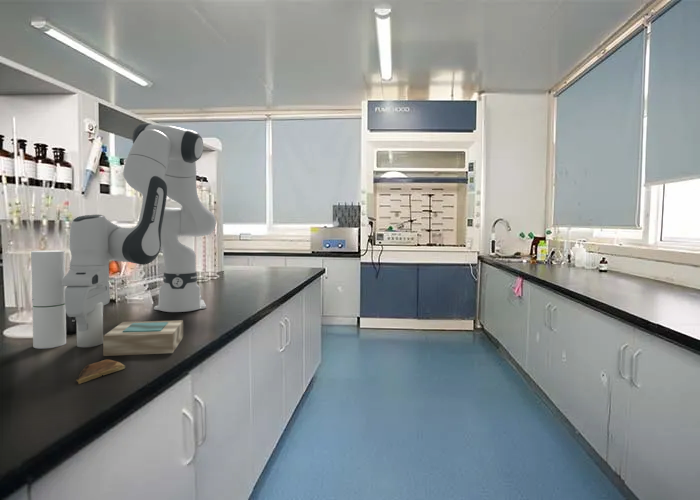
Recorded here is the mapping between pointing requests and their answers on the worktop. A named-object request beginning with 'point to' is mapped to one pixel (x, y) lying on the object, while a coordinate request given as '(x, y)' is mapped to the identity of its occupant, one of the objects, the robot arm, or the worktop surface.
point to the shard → (99, 370)
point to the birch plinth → (143, 338)
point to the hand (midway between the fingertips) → (90, 326)
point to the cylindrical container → (48, 298)
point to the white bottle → (92, 329)
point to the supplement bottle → (71, 325)
